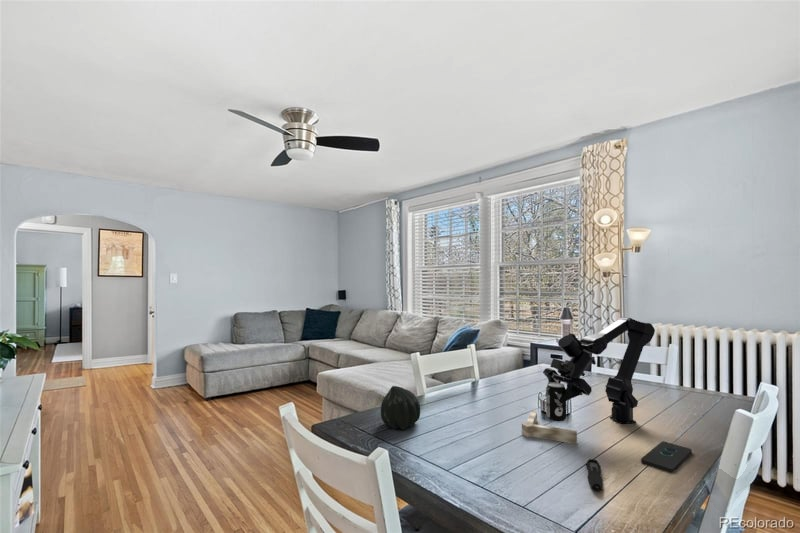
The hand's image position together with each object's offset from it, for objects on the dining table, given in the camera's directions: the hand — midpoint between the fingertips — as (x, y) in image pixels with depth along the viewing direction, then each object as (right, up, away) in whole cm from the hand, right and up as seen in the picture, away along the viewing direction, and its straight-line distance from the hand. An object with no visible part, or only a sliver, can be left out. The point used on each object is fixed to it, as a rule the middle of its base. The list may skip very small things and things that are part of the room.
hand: (552, 399), depth 139 cm
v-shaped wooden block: (-5, -11, -2) cm, 12 cm away
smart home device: (+26, -11, -21) cm, 35 cm away
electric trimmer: (-1, -11, -33) cm, 35 cm away
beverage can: (+1, -7, 0) cm, 7 cm away
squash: (-54, -11, +5) cm, 55 cm away
